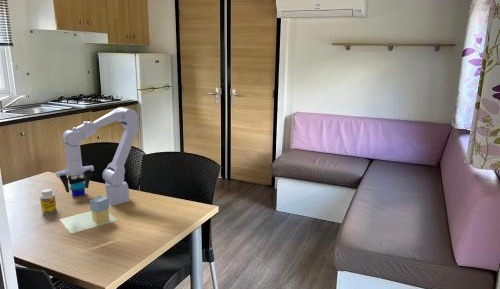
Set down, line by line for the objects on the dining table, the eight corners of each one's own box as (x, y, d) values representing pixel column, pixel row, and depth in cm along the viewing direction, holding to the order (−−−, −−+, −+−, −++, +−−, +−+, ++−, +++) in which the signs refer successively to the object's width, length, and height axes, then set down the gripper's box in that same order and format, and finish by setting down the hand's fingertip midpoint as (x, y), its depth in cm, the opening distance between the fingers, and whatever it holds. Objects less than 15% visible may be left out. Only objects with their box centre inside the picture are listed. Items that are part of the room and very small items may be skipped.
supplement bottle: (43, 216, 158) (39, 193, 155) (41, 211, 162) (38, 189, 160) (57, 213, 161) (54, 191, 158) (56, 209, 165) (53, 187, 163)
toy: (69, 199, 175) (65, 169, 172) (68, 193, 183) (65, 163, 179) (89, 196, 179) (86, 166, 175) (87, 190, 187) (84, 161, 183)
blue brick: (100, 205, 156) (99, 195, 155) (109, 208, 154) (108, 198, 153) (90, 210, 152) (89, 199, 151) (99, 212, 150) (98, 202, 149)
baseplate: (103, 209, 165) (103, 207, 165) (117, 221, 154) (117, 220, 154) (59, 220, 154) (59, 219, 154) (71, 235, 142) (71, 233, 142)
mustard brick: (104, 215, 157) (103, 205, 156) (109, 219, 154) (108, 209, 153) (92, 219, 154) (91, 209, 153) (96, 223, 151) (95, 213, 149)
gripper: (88, 154, 163) (91, 183, 167) (52, 160, 154) (56, 191, 158) (94, 157, 158) (97, 187, 162) (57, 164, 149) (61, 196, 152)
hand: (77, 189), depth 159 cm, fingers open, 7 cm apart
